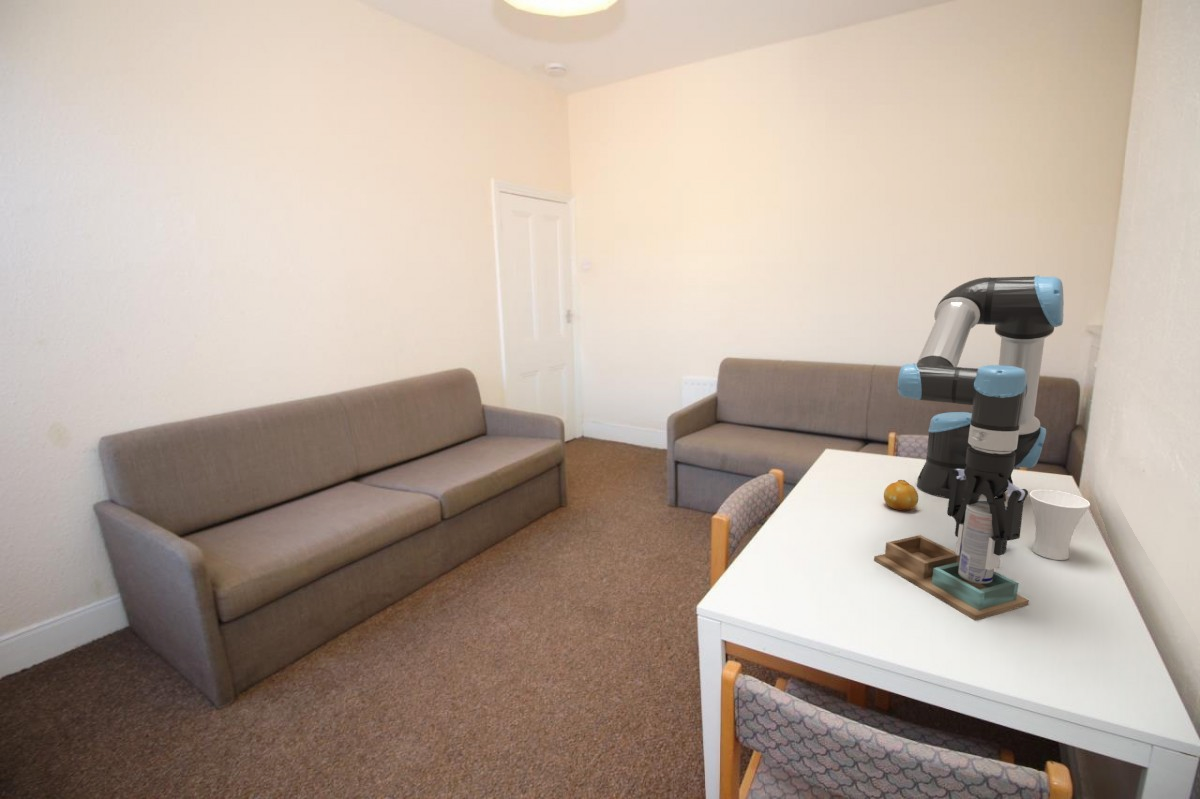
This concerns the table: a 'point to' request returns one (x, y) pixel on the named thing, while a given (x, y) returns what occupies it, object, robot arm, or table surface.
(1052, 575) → the table surface
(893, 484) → the fruit
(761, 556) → the table surface
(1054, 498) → the cup
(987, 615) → the socket board
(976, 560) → the beverage can
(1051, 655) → the table surface
